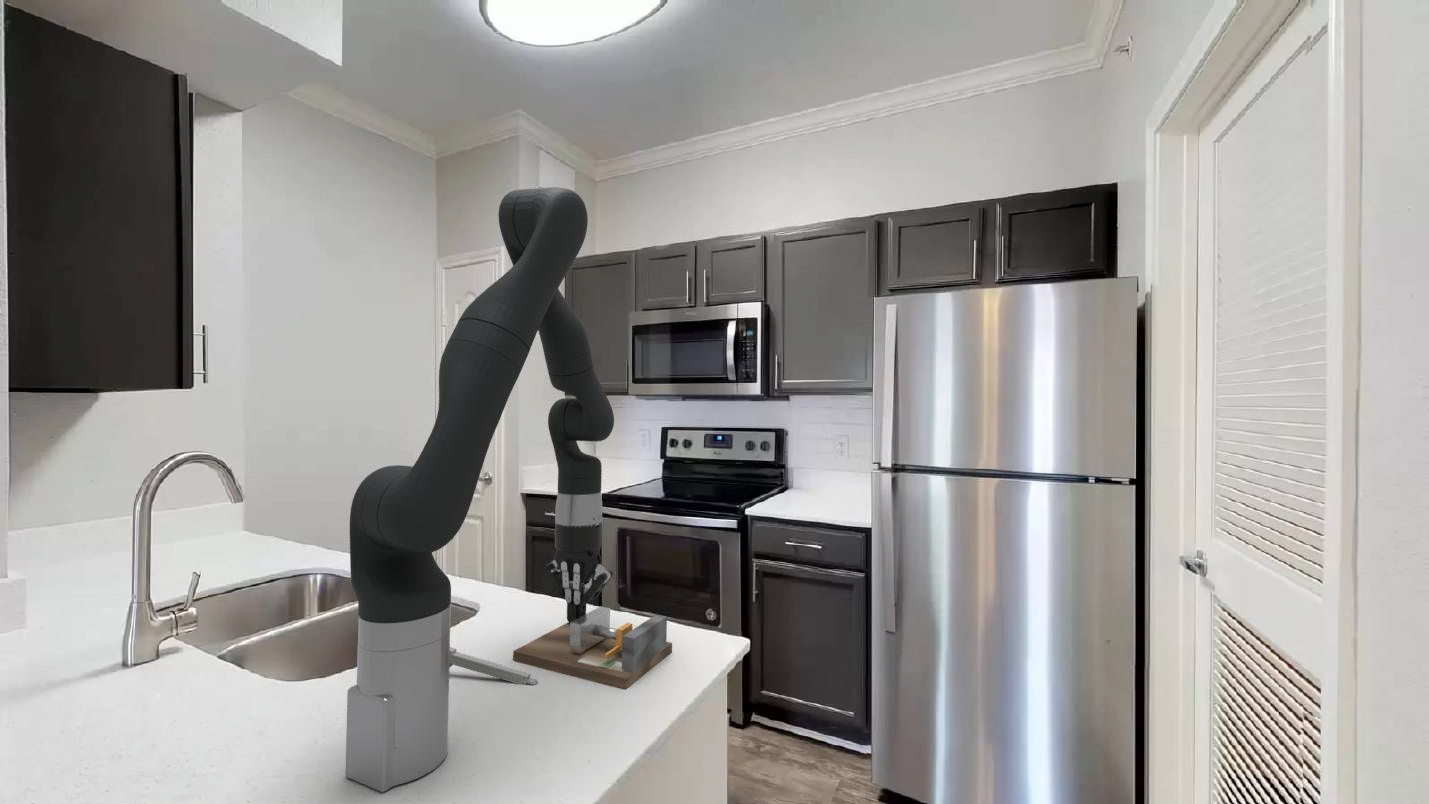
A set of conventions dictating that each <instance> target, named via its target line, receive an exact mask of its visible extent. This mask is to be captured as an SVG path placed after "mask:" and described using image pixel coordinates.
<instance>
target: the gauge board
mask: <svg viewBox="0 0 1429 804" xmlns="http://www.w3.org/2000/svg"><path fill="white" fill-rule="evenodd" d="M667 620H668V617H667V615H666V616H665V615H661V614H654V615H653V616H652V617H650V618H648V619H647V620H646V621H644V622H643V623H640V625H638V626H635V628H632V630H631V631H630V632H628V633H627V634H625V635H624V636H622V650H619V651H617V652H616V653H615V654H613V655H612V656H610V657H609V658H607V659H606V658H605V654H606V653H607V652H609V651H610V650H612V649H613V648H615V647H616V640H614V639H610V638H604V639H603V640H601V641H599V642H598V643H596V644H595V645H593V646H591V647H590V648H588V649H586V650H585V651H583V652H582V653H576V652H572V651H570V625H569V621H568V622H566V623H563V624H562V625H560V626H558V627H556V628H555V629H552V630H551V631H549V632H547V633H545V634H543V635H541V636H539V637H537V638H535V639H533V640H531V641H529V642H527V643H526V644H524V645H522V646H520V647H518V648H517V649H514V650H513V651H512V661H514V662H517V663H521V664H525V665H529V666H533V667H537V668H541V669H544V670H548V671H552V672H557V673H560V674H563V675H569V676H571V677H572V676H573V677H576V678H580V679H584V680H586V681H587V680H588V681H592V682H594V683H600V684H604V685H606V686H607V685H608V686H610V687H611V686H612V687H616V688H620V689H623V690H627V689H628V688H629V687H631V686H632V685H633V684H634V683H636V682H637V681H638V680H639V679H641V678H642V677H643V676H644V675H645V674H647V673H648V672H650V671H651V669H653V668H654V667H655V666H657V665H658V664H659V663H660V662H661V661H662V660H664V659H665V658H666V657H668V656H669V655H670V654H672V653H673V643H672V642H670V641H667V634H668V633H667V632H668V631H667V629H668V628H667V626H668V625H667V624H668V621H667Z"/></svg>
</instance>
